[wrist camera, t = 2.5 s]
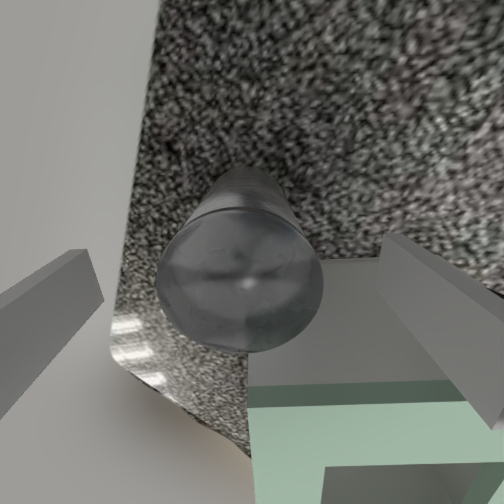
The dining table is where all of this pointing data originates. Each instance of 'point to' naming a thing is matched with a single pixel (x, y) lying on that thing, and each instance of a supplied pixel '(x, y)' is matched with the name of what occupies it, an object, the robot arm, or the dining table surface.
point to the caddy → (364, 410)
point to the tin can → (240, 268)
